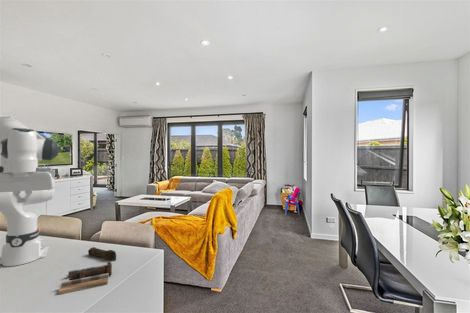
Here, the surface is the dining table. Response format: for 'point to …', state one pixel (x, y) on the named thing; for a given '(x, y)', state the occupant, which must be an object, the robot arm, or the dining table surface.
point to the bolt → (92, 272)
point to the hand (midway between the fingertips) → (22, 202)
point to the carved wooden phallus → (103, 253)
